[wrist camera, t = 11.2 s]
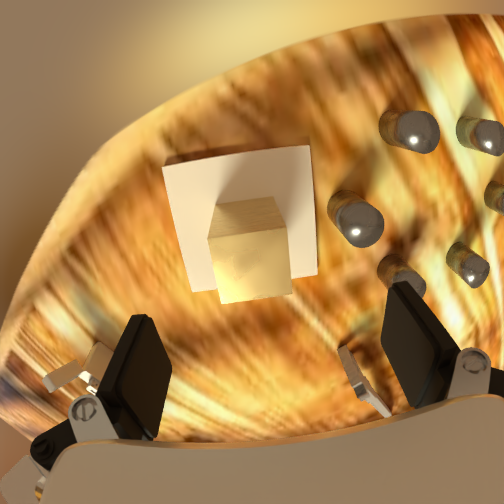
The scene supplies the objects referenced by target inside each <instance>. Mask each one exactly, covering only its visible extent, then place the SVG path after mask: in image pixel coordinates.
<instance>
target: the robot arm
mask: <svg viewBox="0 0 504 504" xmlns="http://www.w3.org/2000/svg"><path fill="white" fill-rule="evenodd" d="M381 345H382V347H383V349H384V351H385V353H386V355H387V357H388V359H389V362H390V364H391V366H392V368H393V370H394V372H395V374H396V376H397V378H398V380H399V383H400V385H401V387H402V389H403V391H404V393H405V396H406V398H407V400H408V402H409V404H410V406H411V407H413V406H414V407H415V410H412V411H409V412H406V413H402V414H399V415H395V416H392V417H388V418H385V419H381V420H377V421H374V422H370V423H366V424H362V425H357V426H353V427H348V428H344V429H339V430H333V431H328V432H323V433H317V434H311V435H304V436H297V437H289V438H281V439H272V440H261V441H247V442H226V443H183V442H159V441H153V438H156V437H157V435H158V431H159V426H160V421H161V417H162V412H163V408H164V403H165V399H166V395H167V390H168V386H169V382H170V378H171V374H172V365H171V362H170V360H169V358H168V355H167V353H166V351H165V348H164V346H163V344H162V341H161V339H160V337H159V334H158V332H157V329H156V327H155V324H154V322H153V320H152V318H151V317H148V316H147V315H146V314H138V315H132V316H131V318H130V320H129V322H128V324H127V326H126V328H125V330H124V332H123V334H122V336H121V338H120V340H119V343H118V345H117V347H116V349H115V351H114V353H113V355H112V358H111V360H110V362H109V364H108V366H107V369H106V371H105V373H104V375H103V378H102V380H101V382H100V385H99V387H98V389H97V392H96V394H95V396H94V395H90V394H88V395H83V396H80V397H78V398H77V399H75V400H74V401H73V402H72V403H71V405H70V407H69V410H68V416H69V419H67V420H65V421H64V422H62V423H60V424H58V425H57V426H55V427H53V428H51V429H49V430H48V431H46V432H44V433H42V434H41V435H39V436H37V437H36V438H35V439H34V441H33V442H32V444H31V449H30V453H31V455H30V456H28V455H25V456H24V457H23V458H22V459H21V460H20V461H19V462H18V463H17V464H16V465H15V466H14V467H13V468H12V469H11V470H10V471H9V472H8V473H7V474H6V475H5V476H4V477H3V478H2V480H1V482H0V491H1V493H2V495H3V497H4V499H5V500H6V502H7V503H8V504H504V371H502V370H499V369H496V368H492V367H491V361H490V358H489V356H488V355H487V354H486V353H485V352H483V351H482V350H480V349H477V348H472V347H470V348H465V349H463V350H462V351H461V350H460V349H459V347H458V346H457V344H456V343H455V341H454V340H453V339H452V337H451V336H450V335H449V333H448V332H447V330H446V329H445V328H444V326H443V325H442V324H441V322H440V321H439V320H438V319H437V317H436V316H435V315H434V313H433V312H432V311H431V309H430V308H429V307H428V306H427V304H426V303H425V302H424V301H423V299H422V298H421V297H420V296H419V294H418V293H417V292H416V291H415V290H414V288H413V287H412V286H411V285H410V283H409V282H408V281H400V282H395V283H393V284H392V287H389V289H388V295H387V302H386V309H385V315H384V321H383V327H382V333H381Z"/></svg>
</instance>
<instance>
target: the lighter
mask: <svg viewBox="0 0 504 504" xmlns="http://www.w3.org/2000/svg"><path fill="white" fill-rule="evenodd" d="M113 353H114V352H113V351H112V350H110V349H109V348H108V347H106V346H105V345H104V344H103V343H101V342H99V341H98V342H97V343H96V344H95V345H94V346H93V347H92V349H91V351H90V353H89V355H88V357H87V359H86V361H85V363H84V366H83V368H82V367H81V365H80V364H79V363H78V361H77V360H76V359H75V360H73V361H72V362H70V363H68V364H66V365H64V366H62V367H60V368H58V369H57V370H55V371H53V372H51V373H49V374H47V375H46V376H45V377H44V378H43V380H42V381H43V383H44V385H45V386H46V388H47V389H48V391H49V392H50V393H51V392H53V391H55V390H56V389H58V388H60V387H62V386H63V385H65V384H67V383H68V382H70V381H72V380H73V379H75V378H77V377H78V376H79V377H80V378H81V379H83V380H84V381H85V382H87V383H88V385H87V387H86V390H88V391H89V392H91V393H92V394H94V395H95V394H96V392H97V389H98V387H99V385H100V382H101V380H102V378H103V375H104V373H105V371H106V369H107V366H108V364H109V362H110V360H111V358H112V355H113Z"/></svg>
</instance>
